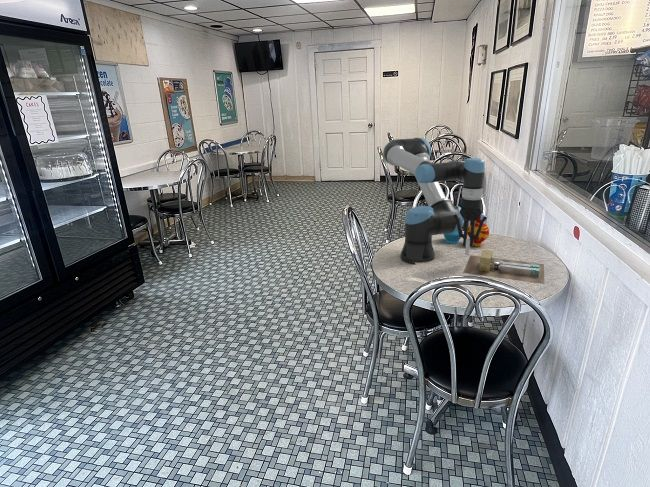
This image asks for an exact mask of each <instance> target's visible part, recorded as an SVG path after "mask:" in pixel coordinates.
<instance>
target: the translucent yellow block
mask: <svg viewBox="0 0 650 487" xmlns="http://www.w3.org/2000/svg"><path fill="white" fill-rule="evenodd" d="M493 254H494V251H493V250H489V249H488V250H487V249H482V251H481V253H480V263H479V271H485V272H490V263H492V258H493Z"/></svg>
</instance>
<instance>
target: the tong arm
mask: <svg viewBox="0 0 650 487" xmlns="http://www.w3.org/2000/svg"><path fill="white" fill-rule="evenodd" d="M492 264H494V265H500V264H504V265H512V266H520V267H528V268H538V269H539V265H534V264H520V263H510V262H503V261H498V260H497V261H492Z"/></svg>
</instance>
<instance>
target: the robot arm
mask: <svg viewBox="0 0 650 487" xmlns="http://www.w3.org/2000/svg"><path fill="white" fill-rule="evenodd" d="M431 149H432V148H431V144H430V142H429V141H428V140H427V139H426V138H423V137H414V138H398V139H397V138H396V139H392V140H391V141H389V142H388V143H387V144H386V145H385V146H384V148H383V151H382V155H383V156H382V157H383V159H384V161H385V162H386V163H388V164H389V165H390V166H394V167H395V166H397V167H398V168H402V169H403V170H405V171H406V172H409V173H411V174H412V175H414V176H415V179H416V181H417V183H418V185H419V188H420V190H421V192H422V195H423V196H424V198H425V201H426V203H427V205H419V206H413V207H411V208H410V209H408V210H407V211H406V213H405V218H404V222H405V223H404V224H405V226H404V244H403V246H402V249H401V252H400V260H401V261H402V262H404V263H407V264H410V265H416V263H417V264H418V263H429V262H431V261H433V260H434V259H435V258H436V254H435V250H434V247H433V244H432V242H433V241H432V239H433V238H432V237H433V236H439V235H444V234H446V233H453V232H457V231H458V233H459V237H461V238H462V241H463V242H462V245H463V247H465V250H464V251H465V252H464V254H465V255H466V256H467V255H469V256H470V252H471V248H473V246H474V245H473V240H474V239H477V238H478V236H479V234H480V231H481V228H482V226H483V223H484V224H485V222H486V220H487V219H488V215H485V214H484V213H483V211H482V202H483V200H482V198H483V190H484V180H485V171H486V168H485V166H486V165H485V164H486V162H485V160H484V158H477V157H471V158H470V157H469V158H466V159H464V161H460V160H458V159H456V160H453V159H452V160H449V161H445V162H437V163H435V162H434V163H433V162H431V161H430V158H431V154H432V150H431ZM448 181H449V182H450V181H459V182H460V181H462V192H461V193H462V194H461V197H462V198H461V203H460V204H461V205H460V206H459V205H454V203H453V201H452V200H451V199H450V198H447V197H446V194H445V193H444V191H443V188H442V186H441V185H440V183H439V182H448ZM480 216H481V218H480V219H481V222H480V224H479V227H478V230H477V232H476V235H474V230H475V222H476V220H477V219H478V218H479V217H480ZM469 222H470V225H471V232H470V238H469V237H468V227H469ZM434 261H435V260H434Z"/></svg>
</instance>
